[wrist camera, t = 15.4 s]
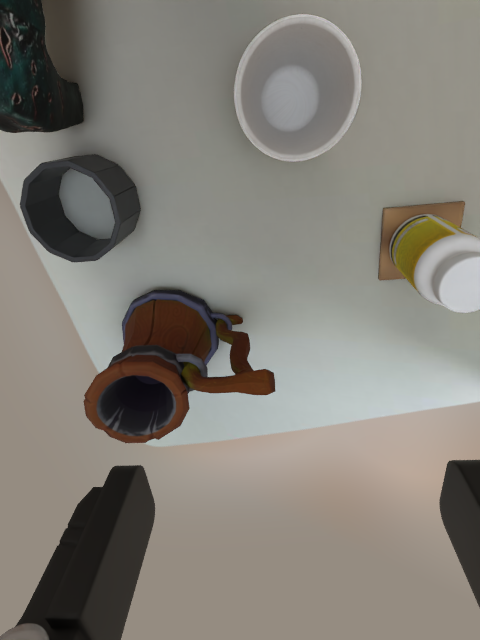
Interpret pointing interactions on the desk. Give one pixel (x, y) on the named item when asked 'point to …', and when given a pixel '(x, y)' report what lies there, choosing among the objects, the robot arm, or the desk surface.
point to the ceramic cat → (32, 74)
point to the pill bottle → (439, 261)
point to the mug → (167, 366)
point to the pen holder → (49, 217)
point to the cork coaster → (401, 214)
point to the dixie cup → (297, 87)
